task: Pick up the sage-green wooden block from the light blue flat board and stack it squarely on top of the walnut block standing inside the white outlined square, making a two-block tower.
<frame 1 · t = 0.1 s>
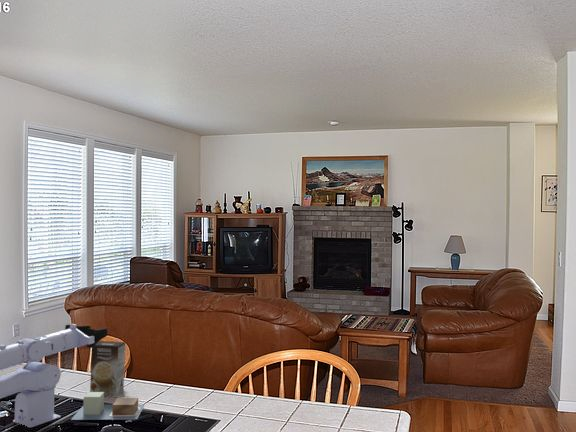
hand: (98, 330, 162), 22 cm above the countertop, tool horizontal, fingers open, 7 cm apart
sage block: (93, 411, 151), resting on light blue flat board
light blue flat board: (109, 413, 151), on the countertop
walnut block: (125, 411, 151), resting on light blue flat board
coffee box: (107, 393, 169), on the countertop
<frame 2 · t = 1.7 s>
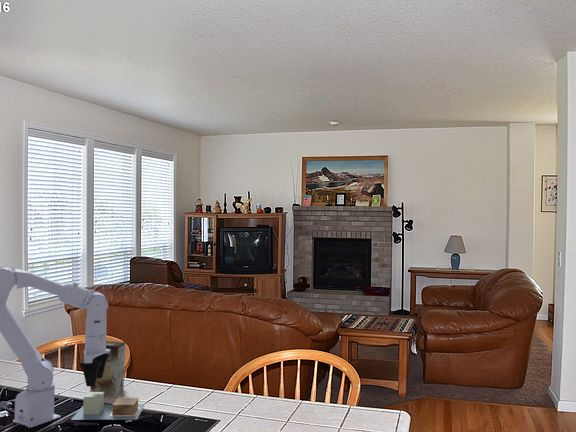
hand: (94, 381, 151), 9 cm above the countertop, tool pointing down, fingers open, 7 cm apart
nothing on the countertop moved.
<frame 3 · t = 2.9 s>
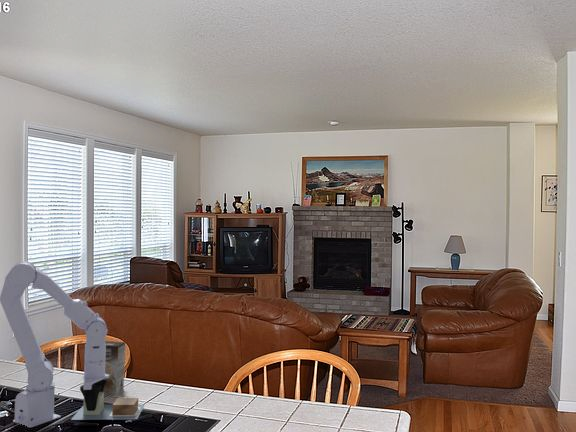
hand: (93, 407, 151), 2 cm above the countertop, tool pointing down, fingers closed on sage block, 4 cm apart
sage block: (93, 411, 151), resting on light blue flat board, touching gripper
everything else where it was.
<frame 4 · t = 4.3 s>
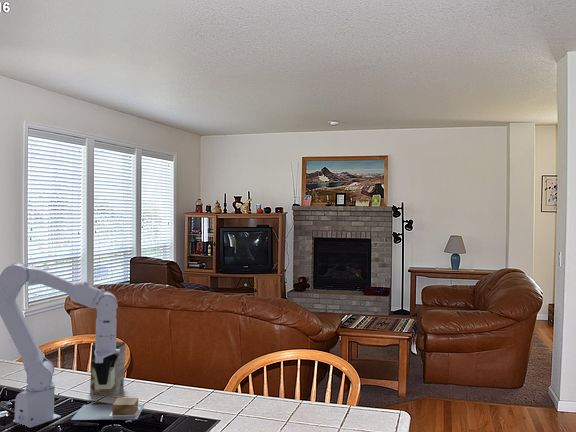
hand: (105, 381, 151), 9 cm above the countertop, tool pointing down, fingers closed on sage block, 4 cm apart
sage block: (104, 386, 151), point 8 cm above the countertop, touching gripper
everything else where it was.
when the fingers open (6 cm above the countertop, at t = 5.8 s): sage block drops 1 cm, resting on walnut block.
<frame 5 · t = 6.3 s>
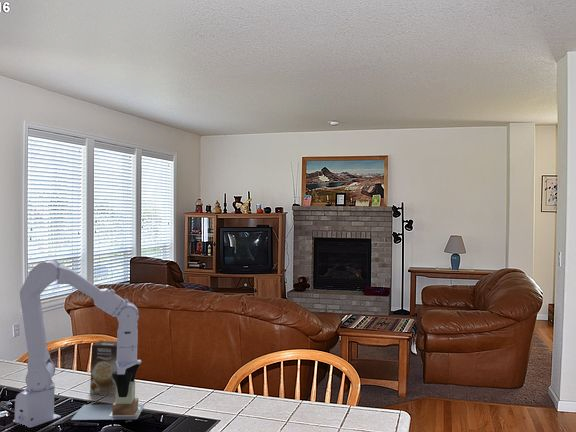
hand: (125, 392, 151), 6 cm above the countertop, tool pointing down, fingers open, 7 cm apart
sage block: (125, 401, 151), point 3 cm above the countertop, touching walnut block
walnut block: (125, 411, 151), resting on light blue flat board, touching sage block
everything else where it was.
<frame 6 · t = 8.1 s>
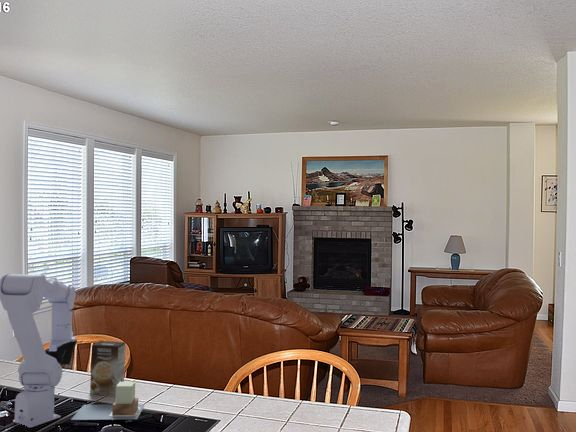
hand: (61, 368, 159), 10 cm above the countertop, tool pointing down, fingers open, 7 cm apart
nothing on the countertop moved.
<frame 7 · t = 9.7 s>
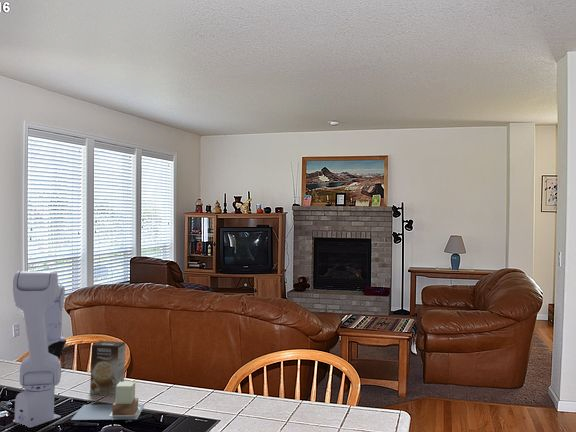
hand: (50, 367, 159), 10 cm above the countertop, tool pointing down, fingers open, 7 cm apart
nothing on the countertop moved.
at the end: sage block 0.1 cm off-centre on the walnut block, point 3.0 cm above the walnut block's base; sage block tilted 0°; walnut block moved 0.0 cm from its start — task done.
